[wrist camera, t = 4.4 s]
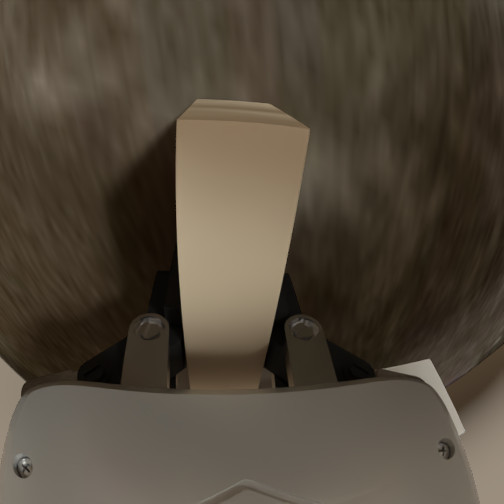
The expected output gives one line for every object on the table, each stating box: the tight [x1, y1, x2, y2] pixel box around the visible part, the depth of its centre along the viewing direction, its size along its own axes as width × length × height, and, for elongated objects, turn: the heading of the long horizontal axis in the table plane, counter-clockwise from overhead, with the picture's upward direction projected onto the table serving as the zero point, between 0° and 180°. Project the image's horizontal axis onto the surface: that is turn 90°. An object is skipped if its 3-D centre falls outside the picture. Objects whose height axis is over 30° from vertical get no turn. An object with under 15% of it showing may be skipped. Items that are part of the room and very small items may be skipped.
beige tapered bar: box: [176, 99, 310, 390], centre depth 11 cm, size 15×8×5 cm, turn 174°
